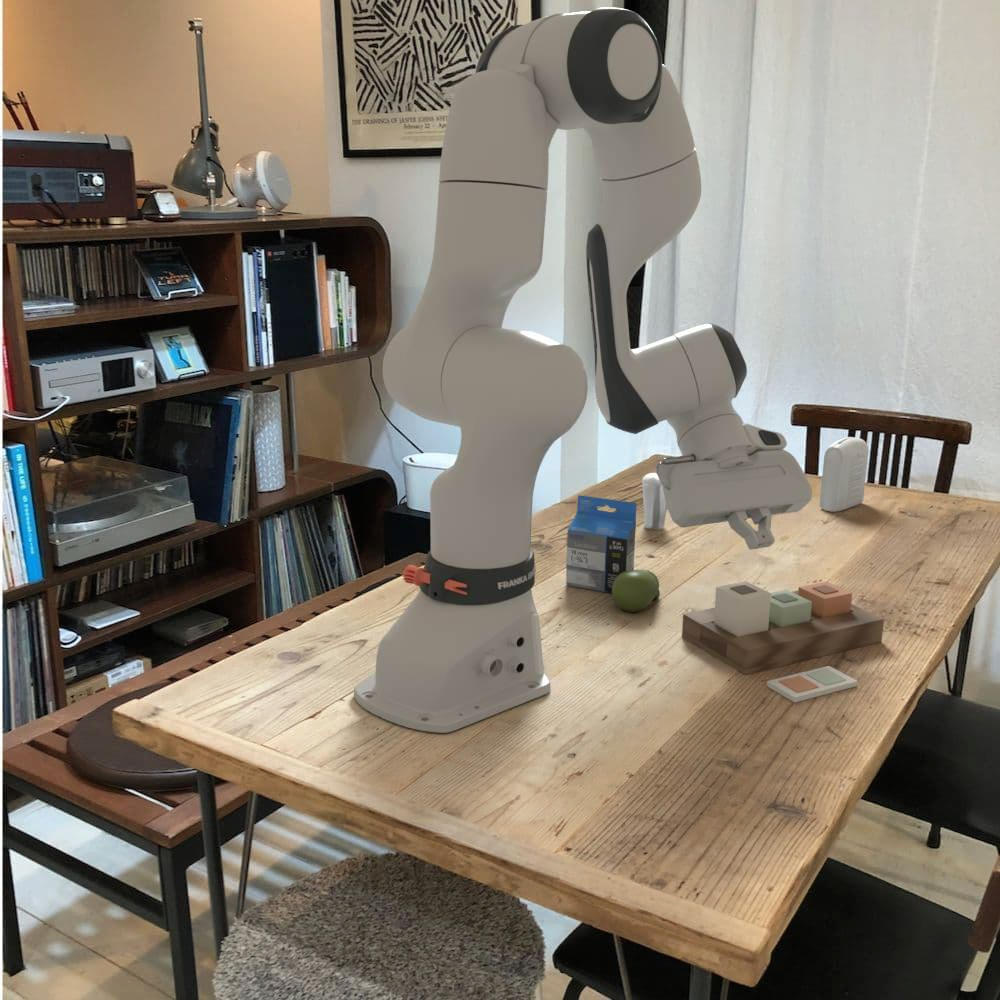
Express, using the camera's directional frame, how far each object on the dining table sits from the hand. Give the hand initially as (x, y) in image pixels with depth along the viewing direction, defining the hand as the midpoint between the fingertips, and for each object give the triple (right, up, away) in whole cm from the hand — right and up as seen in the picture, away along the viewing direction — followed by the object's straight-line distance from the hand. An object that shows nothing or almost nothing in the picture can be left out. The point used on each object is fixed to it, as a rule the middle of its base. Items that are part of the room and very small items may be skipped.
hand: (762, 546), depth 126 cm
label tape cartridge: (-18, -7, +17) cm, 26 cm away
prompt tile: (+2, -15, -13) cm, 20 cm away
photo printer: (+28, +4, +56) cm, 63 cm away
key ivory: (-4, -9, -4) cm, 11 cm away
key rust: (+8, -10, +2) cm, 13 cm away
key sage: (+2, -11, -1) cm, 11 cm away
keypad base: (+2, -11, 0) cm, 12 cm away
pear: (-14, -8, +11) cm, 20 cm away
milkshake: (-7, +1, +43) cm, 44 cm away
